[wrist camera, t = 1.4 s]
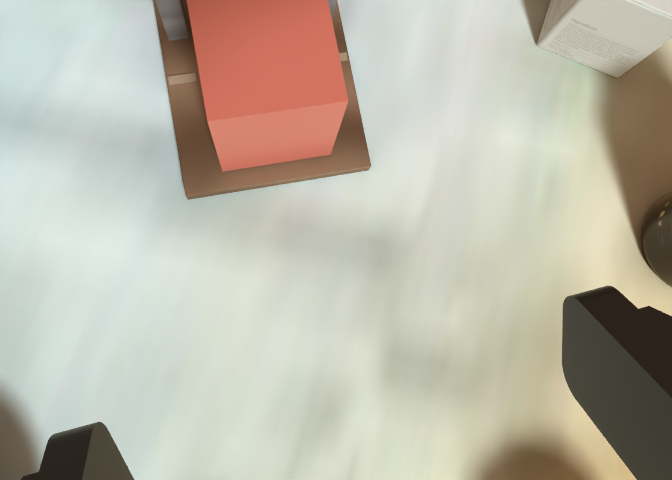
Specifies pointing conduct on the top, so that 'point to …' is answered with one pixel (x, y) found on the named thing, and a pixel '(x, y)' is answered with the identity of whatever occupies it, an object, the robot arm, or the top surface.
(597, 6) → the product box
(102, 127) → the top surface
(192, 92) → the brown piece
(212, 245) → the top surface
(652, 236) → the supplement bottle
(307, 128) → the red block
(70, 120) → the top surface
